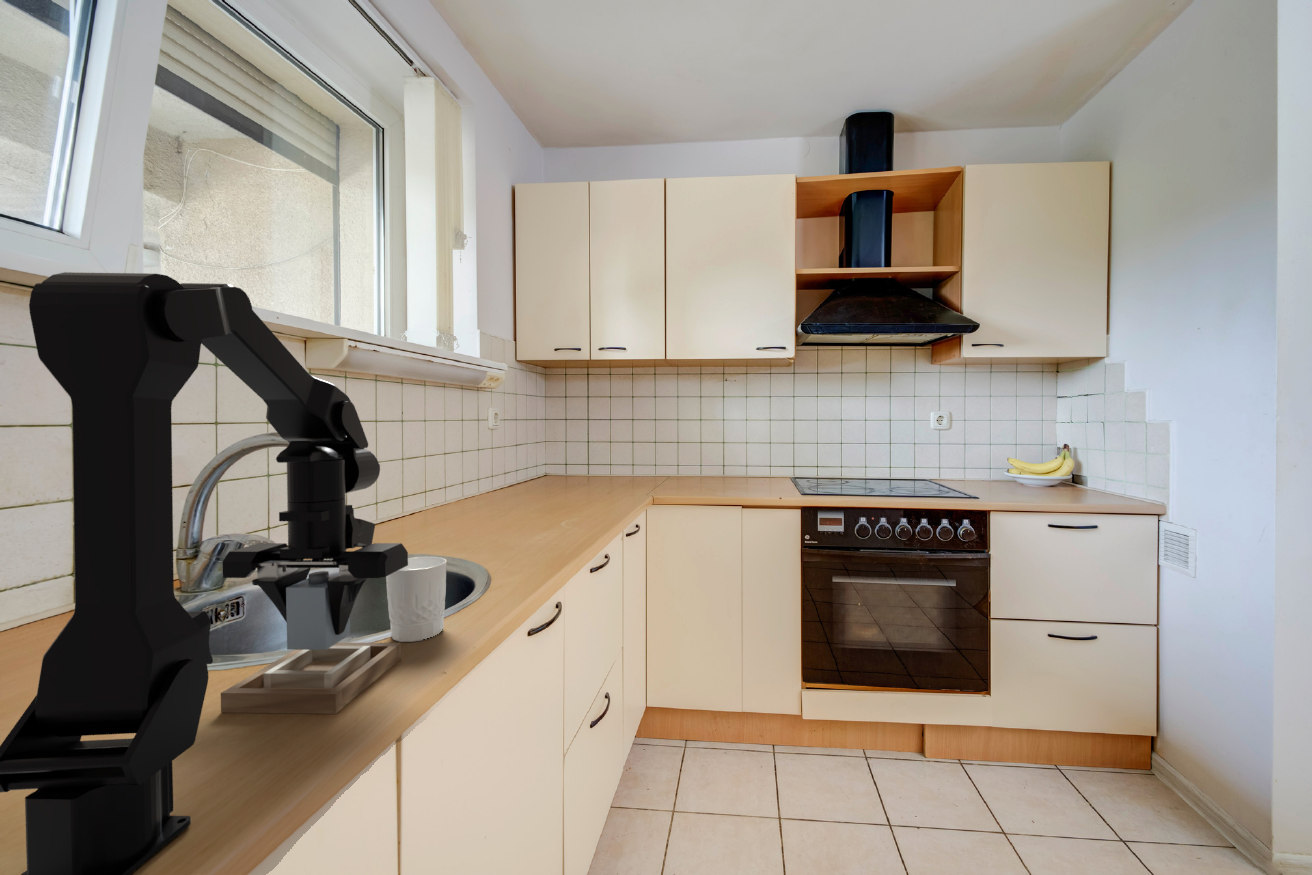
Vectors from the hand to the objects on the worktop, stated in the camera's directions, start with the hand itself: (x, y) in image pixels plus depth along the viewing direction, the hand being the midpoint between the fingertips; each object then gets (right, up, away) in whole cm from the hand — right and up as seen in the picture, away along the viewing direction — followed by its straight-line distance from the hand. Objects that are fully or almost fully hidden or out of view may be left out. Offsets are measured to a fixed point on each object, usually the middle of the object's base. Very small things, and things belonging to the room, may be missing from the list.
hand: (319, 633), depth 63 cm
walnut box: (+1, -5, -1) cm, 5 cm away
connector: (0, -1, 0) cm, 1 cm away
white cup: (+5, -5, +13) cm, 15 cm away
